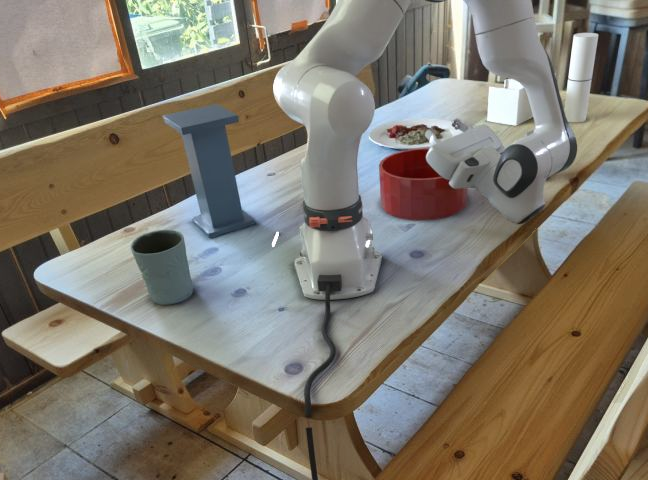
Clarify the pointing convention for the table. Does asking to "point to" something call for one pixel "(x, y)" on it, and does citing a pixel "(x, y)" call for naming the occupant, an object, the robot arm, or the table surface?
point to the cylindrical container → (580, 76)
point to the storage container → (509, 104)
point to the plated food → (411, 133)
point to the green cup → (163, 265)
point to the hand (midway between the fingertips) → (441, 126)
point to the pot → (417, 188)
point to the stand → (211, 168)
